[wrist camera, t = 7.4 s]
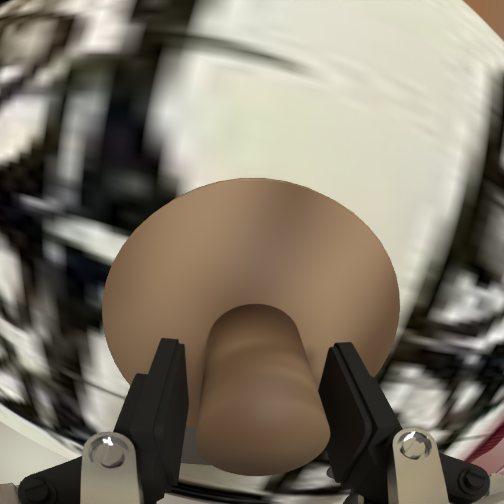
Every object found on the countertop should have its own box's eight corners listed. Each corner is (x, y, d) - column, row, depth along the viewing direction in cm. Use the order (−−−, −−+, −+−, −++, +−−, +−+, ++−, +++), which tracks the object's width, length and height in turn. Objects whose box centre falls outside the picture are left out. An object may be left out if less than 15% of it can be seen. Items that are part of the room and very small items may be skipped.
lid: (411, 194, 11) (521, 233, 5) (352, 415, 15) (385, 500, 9) (102, 175, 10) (-7, 202, 5) (133, 411, 14) (106, 501, 8)
